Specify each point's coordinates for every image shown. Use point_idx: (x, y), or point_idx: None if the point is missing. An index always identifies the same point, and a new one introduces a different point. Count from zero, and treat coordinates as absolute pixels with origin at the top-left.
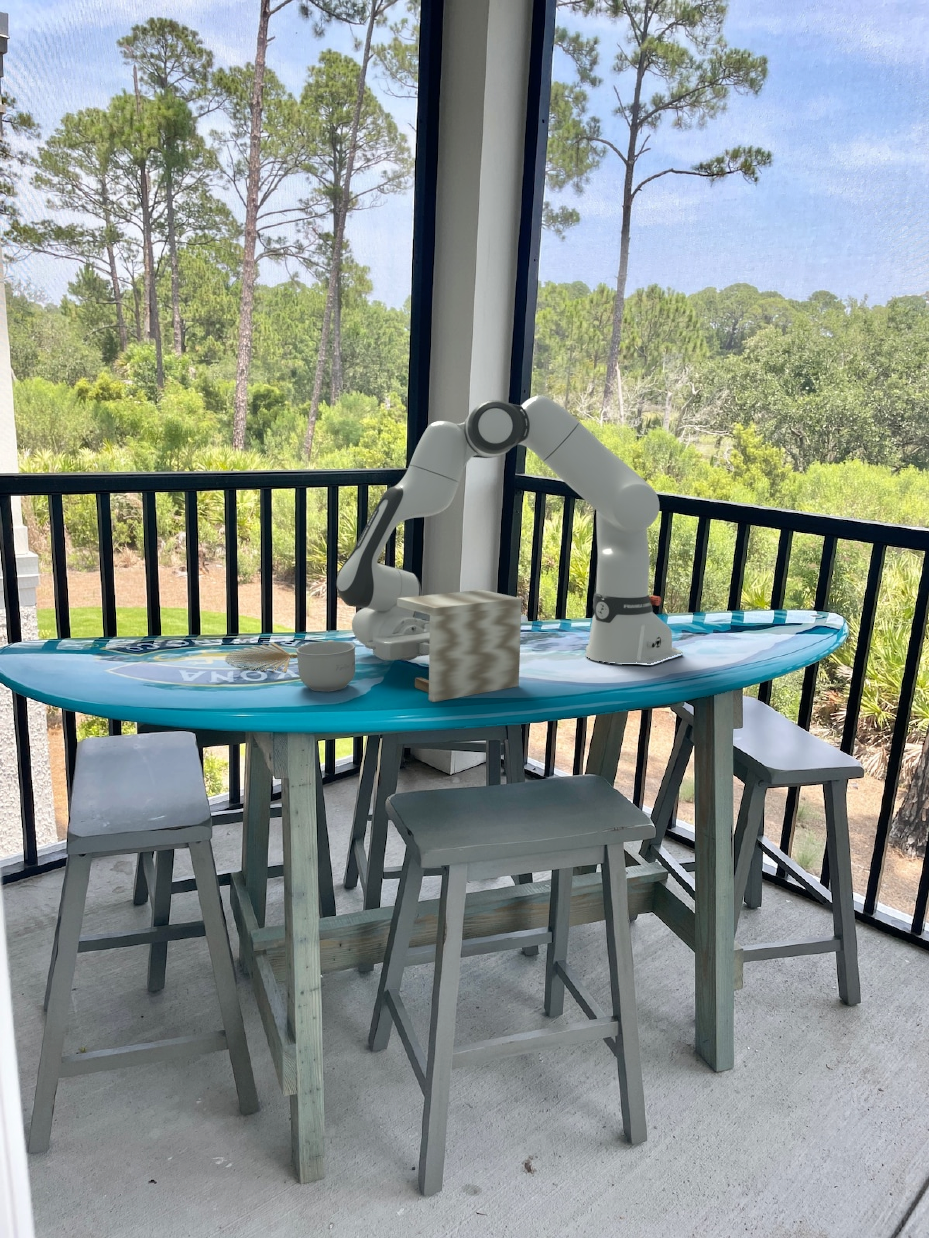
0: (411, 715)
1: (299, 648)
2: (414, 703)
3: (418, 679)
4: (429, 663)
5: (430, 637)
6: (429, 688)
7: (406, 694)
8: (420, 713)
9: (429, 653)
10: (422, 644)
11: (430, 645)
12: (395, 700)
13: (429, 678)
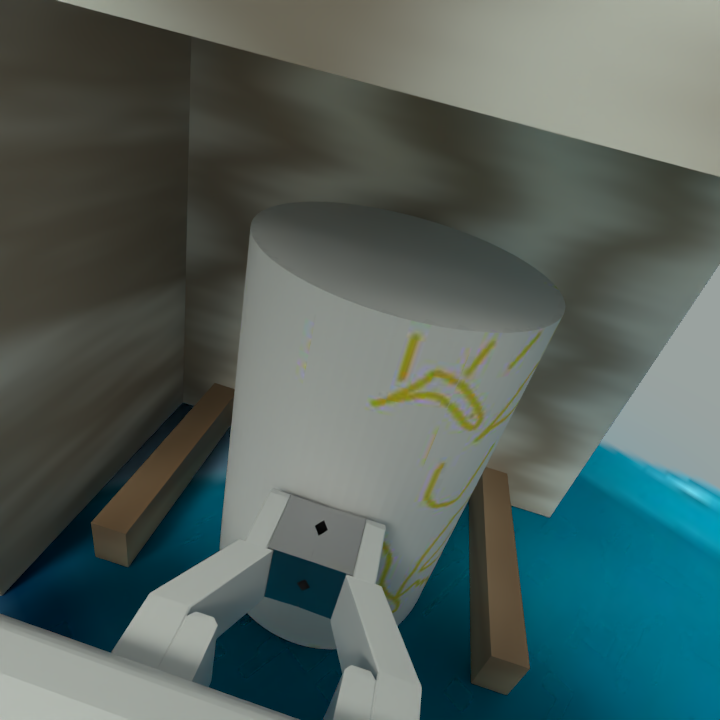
0: (663, 479)
1: None
2: (614, 534)
3: (524, 631)
4: (622, 407)
5: (689, 300)
6: (569, 483)
7: (602, 639)
8: (631, 470)
9: (646, 371)
10: (416, 708)
11: (666, 334)
12: (680, 615)
13: (588, 455)
